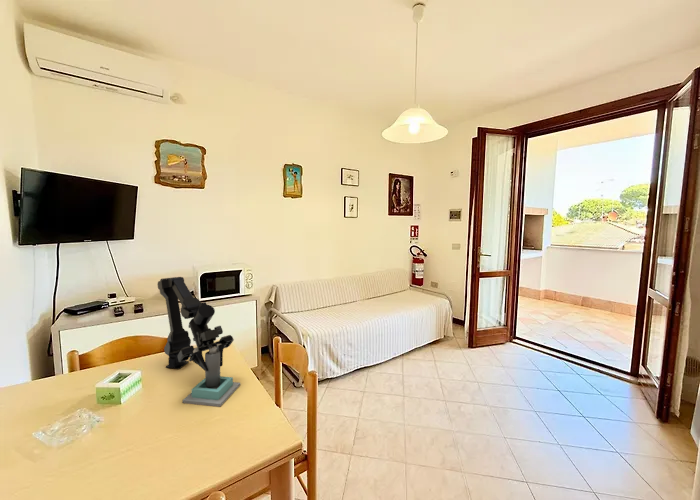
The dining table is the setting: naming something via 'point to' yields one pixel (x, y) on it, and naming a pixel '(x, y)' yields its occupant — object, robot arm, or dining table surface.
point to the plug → (212, 368)
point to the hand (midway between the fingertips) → (214, 368)
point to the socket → (212, 393)
